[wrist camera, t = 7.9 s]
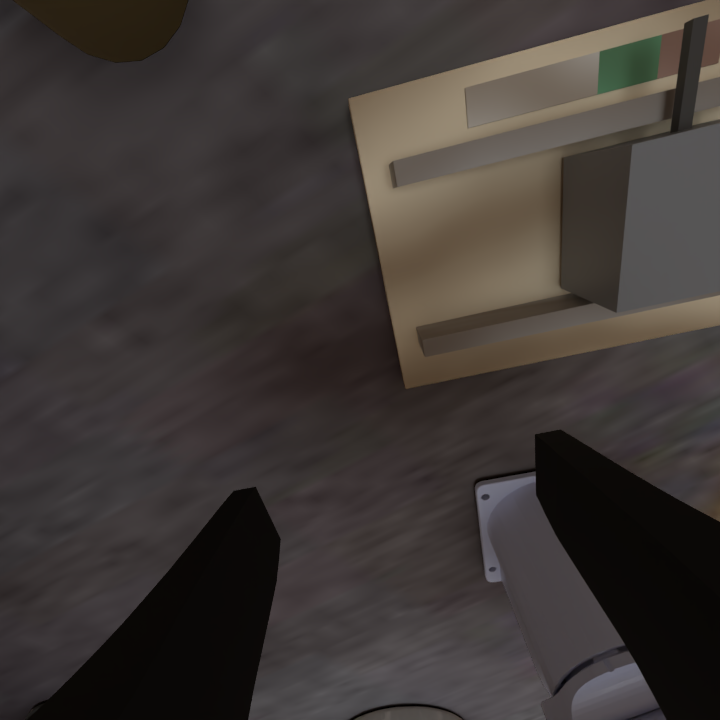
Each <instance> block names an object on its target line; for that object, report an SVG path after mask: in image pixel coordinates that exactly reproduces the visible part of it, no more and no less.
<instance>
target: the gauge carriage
mask: <svg viewBox="0 0 720 720" xmlns="http://www.w3.org/2000/svg"><path fill="white" fill-rule="evenodd" d="M708 18H709V14H708V15H704V16H701V17H697V18H693V19H692V20H690V21H688V22H686V23H684V30H683V38H682V46H681V53H680V61H679V68H678V76H677V84H676V91H675V99H674V106H673V114H672V122H671V129H670V131H668V132H664V133H660V134H656V135H652V136H648V137H644V138H640V139H636V140H632V141H628V142H624V143H620V144H616V145H612V146H608V147H604V148H600V149H596V150H592V151H587V152H583V153H579V154H575V155H571V156H567V157H564V167H563V214H562V261H561V288H562V289H564V290H566V291H568V292H571V293H573V294H575V295H577V296H580V297H582V298H584V299H586V300H589V301H591V302H593V303H595V304H598V305H600V306H602V307H604V308H607V309H609V310H611V311H613V312H616V313H619V312H624V311H628V310H633V309H638V308H643V307H647V306H652V305H657V304H662V303H666V302H671V301H676V300H681V299H685V298H690V297H695V296H700V295H704V294H709V293H714V292H718V291H720V119H718V120H713V121H709V122H704V123H700V124H696V125H692V122H693V116H694V109H695V103H696V96H697V90H698V83H699V77H700V70H701V64H702V57H703V51H704V44H705V38H706V31H707V25H708Z"/></svg>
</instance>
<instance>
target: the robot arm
mask: <svg viewBox="0 0 720 720" xmlns="http://www.w3.org/2000/svg"><path fill="white" fill-rule="evenodd" d="M535 466H536V471H535V472H530V473H524V474H518V475H513V476H507V477H502V478H496V479H491V480H485V481H481V482H479V483H477V484H476V486H475V495H476V504H477V513H478V521H479V530H480V539H481V547H482V556H483V565H484V573H485V577H486V580H487V581H489V582H498V581H502V583H503V585H504V588H505V590H506V593H507V596H508V598H509V601H510V603H511V606H512V609H513V611H514V614H515V616H516V619H517V622H518V624H519V627H520V629H521V632H522V635H523V637H524V640H525V642H526V645H527V648H528V650H529V653H530V655H531V658H532V661H533V663H534V666H535V668H536V671H537V673H538V675H539V677H540V680H541V682H542V683H543V685H544V687H545V688H546V690H547V691H548V693H549V694H550V696H551V698H549V699H547V700H545V701H543V702H542V703H541V707H542V709H543V712H544V715H545V717H546V720H720V522H719V521H717V520H715V519H713V518H711V517H710V516H708V515H706V514H704V513H702V512H700V511H698V510H696V509H694V508H693V507H691V506H689V505H687V504H685V503H683V502H682V501H680V500H678V499H676V498H674V497H673V496H671V495H669V494H667V493H665V492H664V491H662V490H660V489H658V488H657V487H655V486H653V485H652V484H650V483H648V482H646V481H645V480H643V479H641V478H640V477H638V476H636V475H634V474H633V473H631V472H629V471H628V470H626V469H624V468H623V467H621V466H619V465H618V464H616V463H614V462H613V461H611V460H610V459H608V458H606V457H605V456H603V455H601V454H600V453H598V452H596V451H595V450H593V449H592V448H590V447H588V446H587V445H585V444H583V443H582V442H580V441H579V440H577V439H575V438H574V437H572V436H570V435H569V434H567V433H565V432H564V431H562V430H556V431H551V432H545V433H540V434H535ZM484 494H486V495H484ZM280 540H281V539H280V537H279V535H278V533H277V531H276V529H275V526H274V524H273V522H272V520H271V518H270V516H269V514H268V512H267V510H266V508H265V505H264V503H263V501H262V499H261V497H260V495H259V493H258V491H257V489H256V487H252V488H247V489H242V490H236V491H233V492H232V494H231V495H230V496H229V497H228V498H227V499H226V501H225V502H224V503H223V504H222V505H221V507H220V508H219V509H218V510H217V512H216V513H215V514H214V515H213V517H212V518H211V519H210V520H209V522H208V523H207V524H206V525H205V527H204V528H203V529H202V530H201V532H200V533H199V534H198V535H197V537H196V538H195V539H194V540H193V542H192V543H191V544H190V545H189V546H188V548H187V549H186V550H185V551H184V553H183V554H182V555H181V556H180V558H179V559H178V560H177V561H176V562H175V564H174V565H173V566H172V567H171V569H170V570H169V571H168V572H167V573H166V574H165V576H164V577H163V578H162V579H161V580H160V581H159V582H158V584H157V585H156V586H155V587H154V588H153V589H152V591H151V592H150V593H149V594H148V595H147V596H146V597H145V599H144V600H143V601H142V602H141V603H140V604H139V605H138V607H137V608H136V609H135V610H134V611H133V612H132V614H131V615H130V616H129V617H128V618H127V619H126V620H125V621H124V623H123V624H122V625H121V626H120V627H119V628H118V629H117V630H116V631H115V632H114V633H113V634H112V636H111V637H110V638H109V639H108V640H107V641H106V642H105V643H104V644H103V645H102V646H101V647H100V648H99V649H98V650H97V651H96V652H95V653H94V654H93V655H92V656H91V658H90V659H89V660H88V661H87V662H86V663H85V664H84V665H83V666H82V667H81V668H80V669H79V670H78V671H77V672H76V673H75V674H74V675H73V676H72V677H71V678H70V679H69V680H68V681H67V682H66V683H65V684H64V685H63V686H62V687H61V688H60V689H59V690H58V691H57V692H56V693H55V694H54V695H53V696H52V697H51V698H49V699H48V700H47V701H46V702H45V703H44V704H43V705H42V706H41V707H40V708H39V709H38V710H37V711H36V712H35V713H34V714H33V715H32V716H31V717H29V718H28V719H27V720H248V717H249V711H250V706H251V701H252V695H253V690H254V685H255V680H256V676H257V671H258V666H259V662H260V657H261V653H262V648H263V643H264V639H265V634H266V629H267V625H268V620H269V615H270V611H271V606H272V601H273V596H274V591H275V586H276V581H277V572H278V563H279V552H280Z"/></svg>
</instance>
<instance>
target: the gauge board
mask: <svg viewBox="0 0 720 720" xmlns="http://www.w3.org/2000/svg"><path fill="white" fill-rule="evenodd" d="M708 14H709V18H708V25H707V31H706V38H705V44H704V51H703V57H702V64H701V70H700V77H699V83H698V90H697V96H696V103H695V109H694V116H693V122H692V125H696V124H700V123H704V122H709V121H713V120H718V119H720V0H705V1H702V2H698V3H694V4H691V5H687V6H684V7H680V8H676V9H673V10H669V11H665V12H662V13H658V14H654V15H651V16H647V17H644V18H640V19H636V20H633V21H629V22H625V23H622V24H618V25H614V26H611V27H607V28H604V29H600V30H596V31H593V32H589V33H585V34H582V35H578V36H574V37H571V38H567V39H564V40H560V41H556V42H553V43H549V44H545V45H542V46H538V47H534V48H531V49H527V50H524V51H520V52H516V53H513V54H509V55H505V56H502V57H498V58H494V59H491V60H487V61H484V62H480V63H476V64H473V65H469V66H465V67H462V68H458V69H454V70H451V71H447V72H443V73H440V74H436V75H433V76H429V77H425V78H422V79H418V80H414V81H411V82H407V83H403V84H400V85H396V86H393V87H389V88H385V89H382V90H378V91H374V92H371V93H367V94H363V95H360V96H356V97H353V98H349V99H348V100H349V110H350V115H351V120H352V125H353V130H354V135H355V140H356V145H357V150H358V155H359V160H360V165H361V171H362V176H363V181H364V186H365V191H366V196H367V201H368V206H369V211H370V216H371V221H372V226H373V231H374V236H375V241H376V246H377V251H378V256H379V261H380V266H381V271H382V276H383V282H384V287H385V292H386V297H387V302H388V307H389V312H390V317H391V322H392V327H393V332H394V337H395V342H396V347H397V352H398V357H399V362H400V367H401V372H402V377H403V381H404V385H405V388H406V389H408V388H413V387H418V386H423V385H428V384H433V383H438V382H443V381H448V380H452V379H457V378H462V377H467V376H472V375H477V374H482V373H487V372H492V371H497V370H502V369H506V368H511V367H516V366H521V365H526V364H531V363H536V362H541V361H546V360H551V359H555V358H560V357H565V356H570V355H575V354H580V353H585V352H590V351H595V350H600V349H605V348H609V347H614V346H619V345H624V344H629V343H634V342H639V341H644V340H649V339H654V338H658V337H663V336H668V335H673V334H678V333H683V332H688V331H693V330H698V329H703V328H708V327H712V326H717V325H720V291H718V292H714V293H709V294H704V295H700V296H695V297H690V298H685V299H681V300H676V301H671V302H666V303H662V304H657V305H652V306H647V307H643V308H638V309H633V310H628V311H624V312H619V313H616V312H613V311H611V310H609V309H607V308H604V307H602V306H600V305H598V304H595V303H593V302H591V301H589V300H586V299H584V298H582V297H580V296H577V295H575V294H573V293H571V292H568V291H566V290H564V289H562V288H561V261H562V214H563V167H564V157H567V156H571V155H575V154H579V153H583V152H587V151H592V150H596V149H600V148H604V147H608V146H612V145H616V144H620V143H624V142H628V141H632V140H636V139H640V138H644V137H648V136H652V135H656V134H660V133H664V132H668V131H670V129H671V122H672V114H673V106H674V99H675V91H676V84H677V76H678V68H679V61H680V53H681V46H682V38H683V30H684V23H686V22H688V21H690V20H692V19H693V18H697V17H701V16H704V15H708Z"/></svg>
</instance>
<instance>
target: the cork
mask: <svg viewBox="0 0 720 720" xmlns="http://www.w3.org/2000/svg"><path fill="white" fill-rule="evenodd" d="M13 1H15V2H16V3H17V4H18V5H20V6H21V7H22V8H24V9H25V10H26V11H28V12H29V13H30V14H32V15H33V16H34V17H36V18H37V19H38V20H40V21H41V22H42V23H43V24H45V25H46V26H47V27H49V28H50V29H51V30H53V31H54V32H55V33H57V34H58V35H59V36H61V37H62V38H64V39H65V40H67V41H68V42H70V43H71V44H73V45H74V46H76V47H77V48H79V49H80V50H82V51H83V52H85V53H86V54H88V55H92V56H95V57H98V58H102V59H105V60H109V61H112V62H115V63H116V62H128V61H140V60H143V59H145V58H146V57H148V56H150V55H152V54H153V53H155V52H157V51H159V50H161V49H162V48H164V46H165V45H166V44H167V42H168V41H169V40H170V38H171V37H172V36H173V34H174V33H175V32H176V30H177V29H178V28H179V26H180V24H181V21H182V18H183V15H184V12H185V8H186V5H187V2H188V0H13Z"/></svg>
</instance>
